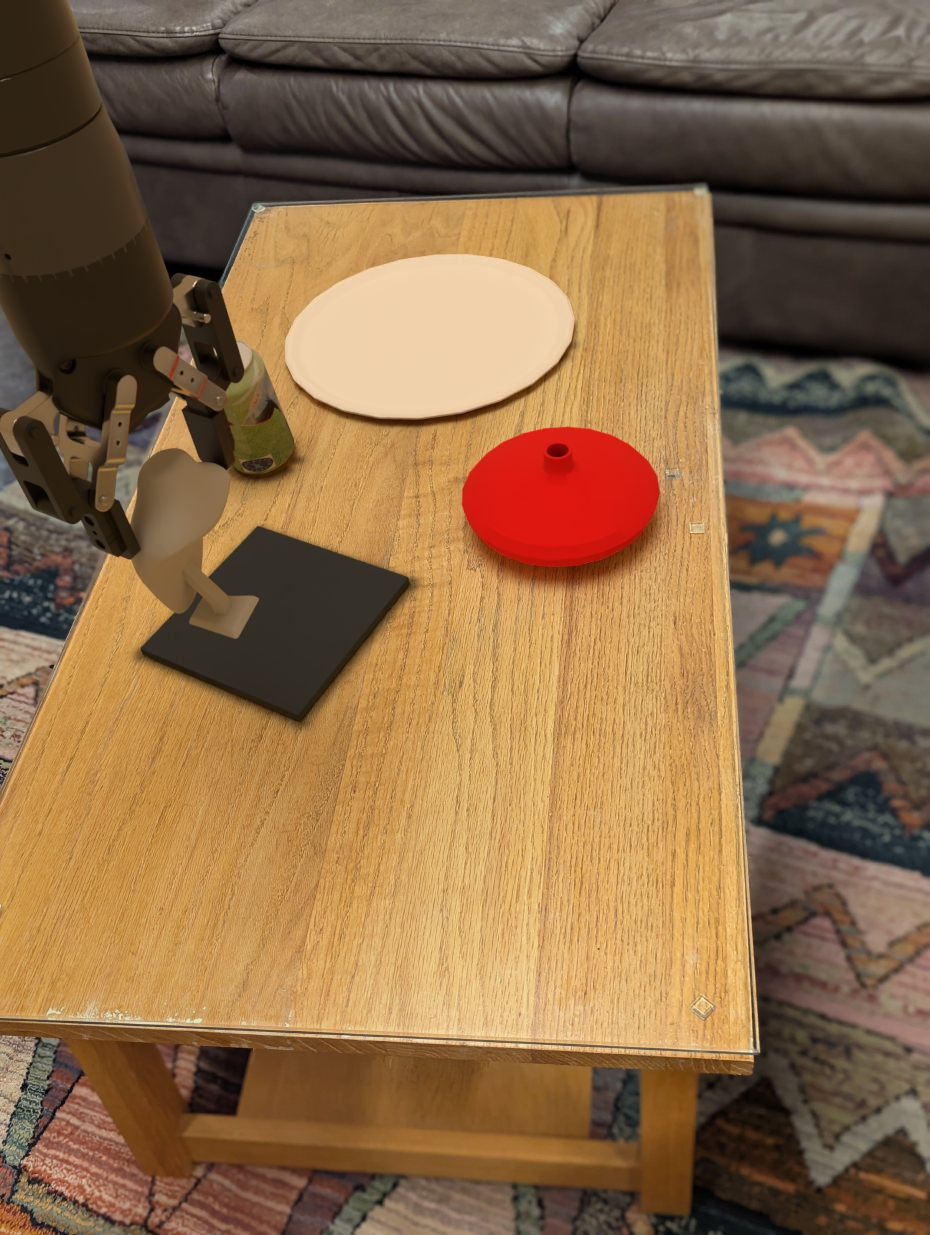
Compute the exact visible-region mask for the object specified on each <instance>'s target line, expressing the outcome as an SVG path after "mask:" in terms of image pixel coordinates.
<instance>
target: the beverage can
mask: <svg viewBox="0 0 930 1235" xmlns="http://www.w3.org/2000/svg"><path fill="white" fill-rule="evenodd" d="M236 342H237V345H238V349H239V352H240V355H241V359H242V362H243V365H244V376H243V378H242V380H241V381H240V382H239V383H232V382H231V384H230V385H229V387H228V389H227V390H226V395H227V401H226V404H225V406H224V410H225V413H226V416H227V419H228V422H229V425H230V428H231V431H232V432H231V433H232V434H233V437H234V440H235V450H234V451H233V454H234V457H235V460H236V461H235V463H234V464H233V465H232V467H233V468H234V469H235V470H237V471H239V472H240V473H243V474H247V475H263V474H267V473H270V472H273V471H275V470H276V469H279V468H280V467H281V466H282V465H284V464H285V463H286V462H287V461H288V460H289V459H290V457H291V456H292V454H293V452H294V448H295V438H294V435H293V433H292V430H291V427H290V425H289V422H288V420H287V418H286V414H285V413H284V410H283V408H282V405H281V403H280V400H279V398H278V395H277V392H276V390H275V387H274V385H273V383H272V380H271V378H270V375H269V372H268V370H267V366H266V364H265V362H264V359H263V358H262V356H261V355H260V354H259V353H258V352H257V351H256V350H254V349H253V348H251V347H250V345H249V344H247V343H246V342H245V341H242V340H240V339H236ZM214 352H215V355H216V356H217V354H216V351H215V349H214ZM193 362H194V361H193ZM193 367H194V368H196V365H195V362H194V365H193ZM196 369H197V368H196Z"/></svg>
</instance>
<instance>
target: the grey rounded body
mask: <svg viewBox="0 0 930 1235" xmlns="http://www.w3.org/2000/svg"><path fill="white" fill-rule="evenodd" d="M136 487H137V488H136V498H135V503H134V507H133V511H132V515H131V519H130V522H129V523H130V526H131V528H132V530H133V532H134V535H135V537H136V539H137V541H138V543H139V546H140V548H141V550H140V552H138V553H137V554H136V555H135V556H134V557H133V558H132V559H131V560H130V561H131V563H132V566H133V568H134V570H135V573H136V575H137V576H138V578H139V579H140V581H141V582H142V584H143V585H144V586H145V587H146V588H147V589H148V590H149V591H150V592H151V593H152V594H153V595H154V596H155V598H156V599H158V601H159V602H160V603H162V604H163V605H164V606H165V607H166V608H168V609H169V610H170V611H172V612H173V613H174V612H175V613H178V614H179V613H183V612H185V611H186V610H187V609H188V608H189V607H190V605H191V604H192V602H193V600H194V598H195V596H196V593H197V592H198V593H199V594H200V595H201V596H202V597H203V598H202V599H201V601H200V603H199V604H198V606H197V608H196V609H195V611H194V613H193V614H192V616H191V618H190V621H189V623H190V624H192V625H195V626H198V627H201V628H204V629H207V630H210V631H213V632H216V633H219V634H222V635H225V636H228V637H231V638H235V639H237V638H238V637H239V635H240V634H241V632H242V630H243V628H244V626H245V624H246V623H247V621H248V619H249V617H250V615H251V614H252V612H253V610H254V608H255V606H256V604H257V602H258V601H259V598H257V597H255V596H227V595H226V594H225V593H224V592H223V591H222V590H221V589H220V588H219V587H218V586H217V585H216V584H215V583H214V582H213V581H211V580H210V579H209V578H208V577H209V576H207V574H205V573H204V572H203V571H202V568H203V556H204V553H203V552H204V537H205V536H207V535H208V534H209V533H210V532H211V531H213V529H214V528H215V527H216V526H217V524H218V523H219V522H220V520H221V518H222V516H223V514H224V512H225V509H226V505H227V502H228V498H229V495H230V488H231V476H230V474H229V472H228V470H225V469H224V468H223V467H221V466H219V465H217V464H215V463H211V462H202V461H197V460H196V459H195V458H194V457H192V456H191V455H190V453H189V452H187V451H186V450H184V449H182V448H177V447H171V448H165V449H162V450H159V451H157V452H155V453H154V454H152V455H151V456H150V457H149V458H148V459H147V460H146V461H145V462H144V463H143V464H142V465H141V468H140V470H139V472H138V476H137V482H136Z"/></svg>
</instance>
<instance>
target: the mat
mask: <svg viewBox="0 0 930 1235" xmlns="http://www.w3.org/2000/svg"><path fill="white" fill-rule="evenodd" d="M207 577H208V578H209V579H210V580H211V581H213V582H214V583H215V584H216V585H217V586H218V587H219V588H220V589H221V590H222V591H223V592H224V593H225V594H226V595H227V596H255V597H257V598H259V601H258V602H257V604H256V606H255V608H254V610H253V612H252V614H251V615H250V617H249V619H248V621H247V623H246V624H245V626H244V628H243V630H242V632H241V634H240V635H239V637H238V638H237V639H235V638H231V637H228V636H225V635H222V634H219V633H216V632H213V631H210V630H207V629H204V628H201V627H198V626H195V625H192V624H190V623H189V621H190V618H191V616H192V614H193V613H194V611H195V609H196V608H197V606H198V604H199V603H200V601H201V599H202V598H203V597H202V596H201V595H200V594H199V593H198V592H197V593H196V596H195V598H194V600H193V602H192V604H191V605H190V607H189V608H188V609H187V610H186V611H185V612H183V613H179V614H178V613H175V612H173V613H172V614H171V615H170V616H169V618H167V619H166V620H165V621H164V622H163V623H162V625H160V626H159V627H158V629H157V630H156V631H155V632H154V633H153V634H152V635H151V636H150V637H149V638H148V639H147V641H145V643H143V644H142V645H141V647H140V648H139V650H140V652H141V654H142V655H143V656H144V657H147V658H149V659H152V660H154V661H157V662H159V663H161V664H164V665H166V666H168V667H170V668H173V669H174V670H178V671H180V672H182V673H185V674H187V675H190V676H192V677H195V678H197V679H199V680H200V681H204V682H206V683H209V684H211V685H213V686H215V687H218V688H220V689H222V690H225V691H227V692H230V693H232V694H235V695H236V696H239V697H242V698H243V699H246V700H249V701H251V702H252V703H256V704H258V705H260V706H262V707H264V708H268V709H269V710H272V711H275V712H277V713H279V714H281V715H284V716H286V717H288V718H291V719H293V720H296V721H297V722H301V721H302V720H303V718H304V717H305V716H306V715H307V714H308V713H309V711H310V710H311V708H312V707H313V706H314V705H315V703H316V702H317V701H318V700H319V699H320V697H321V696H322V695H323V694H324V692H325V691H326V690H327V689H328V687H329V686H330V685H331V683H332V682H333V681H334V680H335V678H336V677H337V676H338V675H339V674H340V672H341V671H342V670H343V668H344V667H345V666H346V664H347V663H348V662H349V661H350V660H351V658H353V656H354V655H355V653H356V652H357V651H358V650H359V648H360V647H361V646H362V644H364V643H365V641H366V640H367V638H368V637H369V636H370V635H371V634H372V633H373V630H375V629H376V627H377V626H378V625H379V624H380V622H381V621H382V619H383V618H384V617H385V616H386V615H387V613H388V612H389V611H390V609H391V608H392V607H393V605H395V603H397V601H398V600H399V598H400V597H401V596H402V595H403V593H404V592H405V591H406V589H407V588H408V587H409V585H410V584H411V582H410V578H409V576H406V575H404V574H401V573H399V572H395V571H393V570H389V569H387V568H383V567H380V566H377V565H375V564H371V563H369V562H366V561H363V560H359V559H357V558H354V557H351V556H348V555H345V554H342V553H340V552H336V551H333V550H331V549H328V548H325V547H322V546H318V545H316V544H312V543H310V542H307V541H305V540H304V541H303V540H301V539H298V538H295V537H292V536H290V535H287V534H283V533H280V532H277V531H274V530H272V529H269V528H265V527H263V526H260V525H257V526H256V527H255V528H254V529H253V530H252V531H251V532H250V533H249V534H248V535H247V537H245V538H244V539H243V540H242V541H241V542H240V543H239V545H238V546H237V547H236V548H235V549H234V550H232V552H231V553H230V554H229V555H228V556H227V557H226V558H224V560H223V561H222V562H221V563H220V564H219V565H218V566H217V567H216V568H215V569H214V570H213V571H212V572H211V574H210V575H209V576H207Z"/></svg>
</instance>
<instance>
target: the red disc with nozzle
mask: <svg viewBox="0 0 930 1235" xmlns="http://www.w3.org/2000/svg"><path fill="white" fill-rule="evenodd" d="M461 489H462V490H461V491H462V492H461V507H462V510H463V513H464V515H465V517H466V521H467V523H468V525H469V526H470V527H471V529H472V530H473V532H474V533H475V534H476V536H477V537H478V538H479V539H480V540H481V542H482V543H483V544H484V545H485V546H487V547H488V548H489V549H492V550H493V551H495V552H496V553H498V554H499V555H501V556H503V557H505V558H508V559H510V560H513V561H516V562H520V563H522V564H525V565H530V566H531V565H532V566H538V567H539V566H540V567H548V568H560V567H578V566H581V565H585V564H588V563H595V562H597V561H602V560H604V559H606V558H608V557H610V556H613V555H614V554H616V553H619V552H621V551H622V550H624V549H626V548H627V547H628V546H630V545H631V544H632V543H633V542H634V541H636V540H637V539H638V538H640V536H641V535H642V534H643V532H644V531H645V529H646V528H647V527H648V525H649V524H650V523H651V521H652V519H653V517H654V516H655V512H656V511H657V507H658V503H659V500H660V495H661V490H660V483H659V477H658V474H657V473H656V471H655V469H654V468H653V466H652V465H651V463H650V461H649V459H647V458H646V457H645V456H643V454H642V453H640V452H639V451H638V450H637V449H636V448H634V447H633V446H632V445H631V444H629V443H628V442H626V441H625V440H623V439H620V438H618V437H617V436H615V435H613V434H610V433H607V432H603V431H600V430H596V429H592V428H586V427H576V426H575V427H574V426H555V427H543V428H540V429H535V430H531V431H527V432H522V433H520V434H518V435H516V436H513V437H511V438H508V439H506V440H503V441H502V442H500V443H499V444H497V445H496V446H495V447H493V448H492V449H490V450H489V451H487V452H486V453H485V455H483V457H481V459H480V460H478V462H477V463H476V464H475V465H474V467H472V469H471V470H470V471H469V472H468V475H467V477H466V479H465V481H464V484H463V486H462V488H461Z"/></svg>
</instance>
